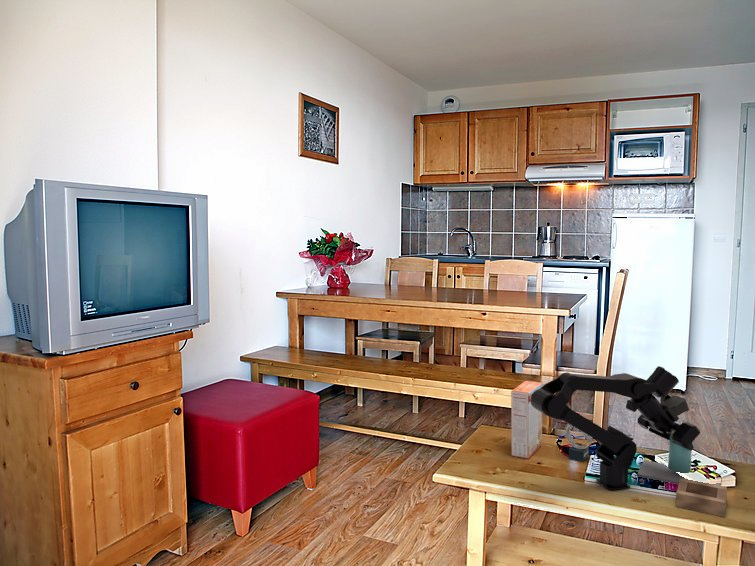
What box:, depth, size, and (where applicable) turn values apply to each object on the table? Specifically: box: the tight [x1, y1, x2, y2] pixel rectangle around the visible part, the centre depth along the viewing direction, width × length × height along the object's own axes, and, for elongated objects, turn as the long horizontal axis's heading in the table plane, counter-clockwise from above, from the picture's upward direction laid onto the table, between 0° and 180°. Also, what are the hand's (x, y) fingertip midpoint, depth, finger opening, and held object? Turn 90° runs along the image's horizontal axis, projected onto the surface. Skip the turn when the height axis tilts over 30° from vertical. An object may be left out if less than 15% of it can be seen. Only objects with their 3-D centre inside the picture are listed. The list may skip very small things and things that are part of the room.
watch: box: [565, 424, 594, 463], centre depth 181 cm, size 6×8×11 cm
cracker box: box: [510, 380, 543, 460], centre depth 187 cm, size 14×6×21 cm, turn 148°
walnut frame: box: [675, 478, 728, 518], centre depth 150 cm, size 11×11×4 cm
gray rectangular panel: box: [637, 459, 722, 486], centre depth 166 cm, size 20×12×1 cm, turn 58°
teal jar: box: [667, 432, 693, 473], centre depth 166 cm, size 6×6×10 cm
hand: (684, 445), depth 166 cm, fingers closed on teal jar, 6 cm apart
